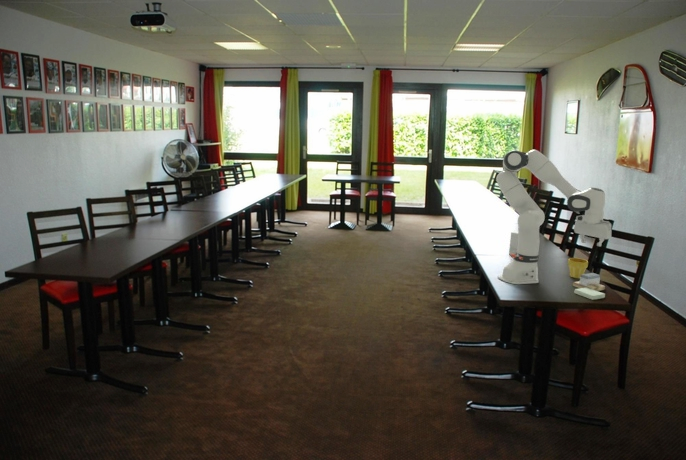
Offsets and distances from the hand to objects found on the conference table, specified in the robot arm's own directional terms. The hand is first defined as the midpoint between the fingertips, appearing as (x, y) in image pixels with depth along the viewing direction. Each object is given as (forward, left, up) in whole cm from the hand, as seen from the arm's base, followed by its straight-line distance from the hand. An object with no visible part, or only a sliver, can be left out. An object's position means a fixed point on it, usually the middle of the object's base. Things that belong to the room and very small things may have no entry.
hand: (591, 244), depth 288 cm
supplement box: (+14, +63, -23) cm, 69 cm away
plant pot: (+9, +13, -23) cm, 28 cm away
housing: (-2, -4, -21) cm, 21 cm away
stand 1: (-2, -4, -23) cm, 23 cm away
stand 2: (-13, -13, -23) cm, 29 cm away
